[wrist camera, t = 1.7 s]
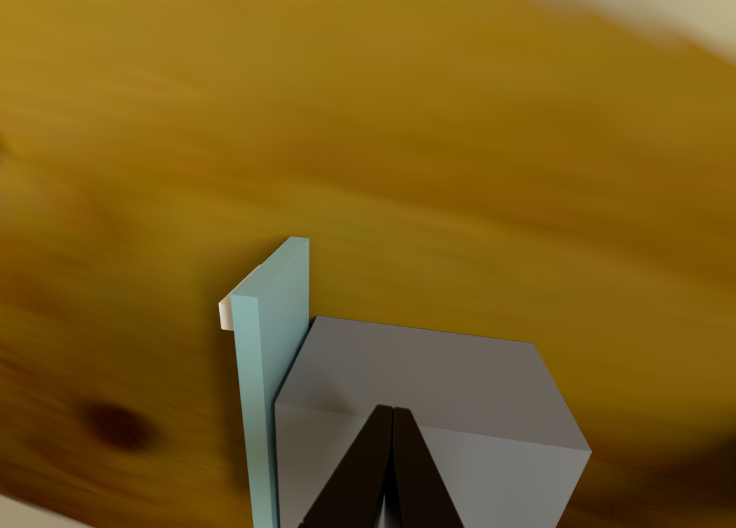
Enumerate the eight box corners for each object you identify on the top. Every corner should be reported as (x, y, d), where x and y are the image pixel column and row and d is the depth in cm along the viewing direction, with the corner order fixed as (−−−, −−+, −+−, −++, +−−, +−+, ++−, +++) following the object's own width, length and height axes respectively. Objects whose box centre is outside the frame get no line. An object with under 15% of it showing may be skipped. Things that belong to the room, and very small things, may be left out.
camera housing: (471, 533, 21) (490, 663, 16) (314, 506, 22) (285, 621, 17) (533, 343, 15) (591, 451, 10) (317, 315, 16) (274, 403, 11)
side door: (308, 487, 21) (277, 597, 16) (279, 482, 21) (240, 590, 16) (309, 238, 14) (257, 297, 10) (267, 233, 14) (196, 289, 10)
